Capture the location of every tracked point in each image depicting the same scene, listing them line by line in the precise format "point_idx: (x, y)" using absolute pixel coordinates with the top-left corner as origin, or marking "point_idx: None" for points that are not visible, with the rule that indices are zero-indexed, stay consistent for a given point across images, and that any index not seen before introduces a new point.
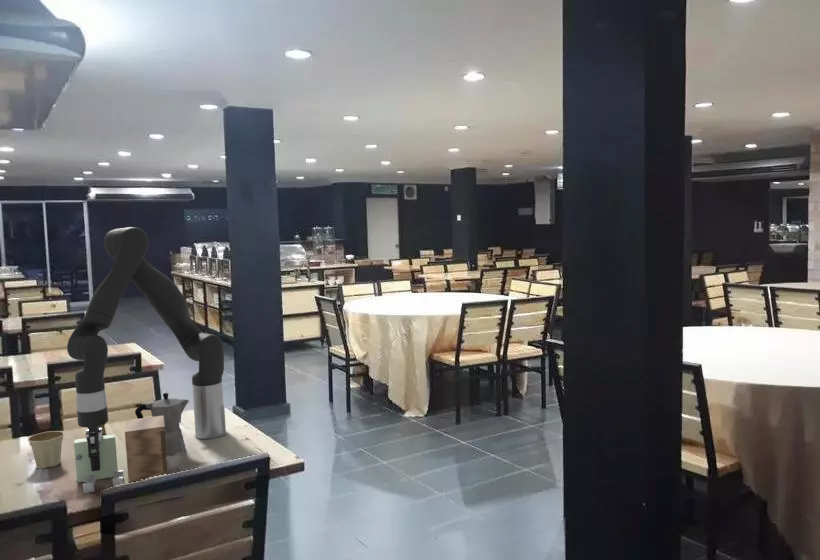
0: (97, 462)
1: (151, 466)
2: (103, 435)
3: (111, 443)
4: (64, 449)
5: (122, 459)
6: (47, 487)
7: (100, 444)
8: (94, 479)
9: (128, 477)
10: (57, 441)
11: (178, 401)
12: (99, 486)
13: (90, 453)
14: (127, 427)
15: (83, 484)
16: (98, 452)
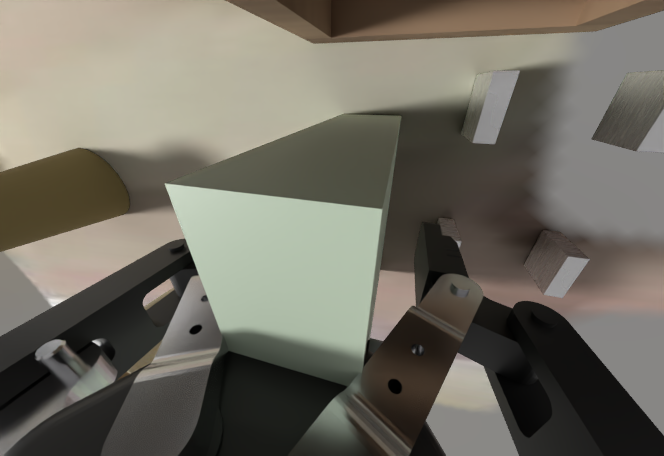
0: (464, 266)
1: None
2: (16, 188)
3: (384, 213)
4: (101, 262)
5: (179, 92)
6: (373, 333)
7: (452, 355)
8: (457, 232)
9: (626, 20)
10: (146, 357)
11: None
12: (501, 205)
13: (545, 396)
14: None
15: (562, 295)
16: (592, 353)
